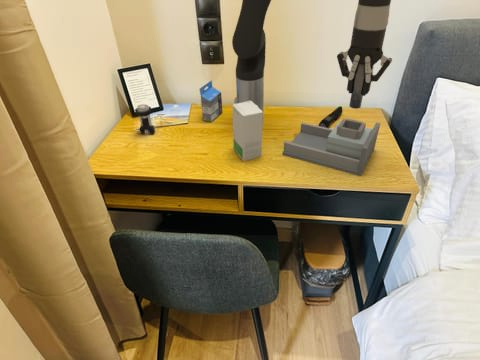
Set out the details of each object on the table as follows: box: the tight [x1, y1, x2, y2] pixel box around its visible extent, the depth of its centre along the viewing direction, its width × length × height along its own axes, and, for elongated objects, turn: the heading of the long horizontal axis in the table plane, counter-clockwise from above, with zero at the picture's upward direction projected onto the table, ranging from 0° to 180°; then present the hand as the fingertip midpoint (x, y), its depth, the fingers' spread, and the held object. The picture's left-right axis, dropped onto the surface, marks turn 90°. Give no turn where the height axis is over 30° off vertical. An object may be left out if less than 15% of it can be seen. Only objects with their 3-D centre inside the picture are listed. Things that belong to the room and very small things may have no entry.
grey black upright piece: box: [134, 104, 156, 136], centre depth 117 cm, size 7×5×10 cm
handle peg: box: [349, 63, 366, 110], centre depth 91 cm, size 3×3×12 cm
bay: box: [281, 122, 381, 177], centre depth 104 cm, size 24×16×9 cm, turn 60°
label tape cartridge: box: [199, 80, 223, 123], centre depth 125 cm, size 9×4×12 cm, turn 155°
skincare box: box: [232, 101, 264, 162], centre depth 103 cm, size 8×7×16 cm
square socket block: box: [326, 118, 373, 160], centre depth 100 cm, size 10×10×10 cm
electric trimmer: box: [317, 105, 343, 129], centre depth 122 cm, size 4×16×3 cm, turn 143°
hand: (357, 93), depth 92 cm, fingers closed on handle peg, 3 cm apart
